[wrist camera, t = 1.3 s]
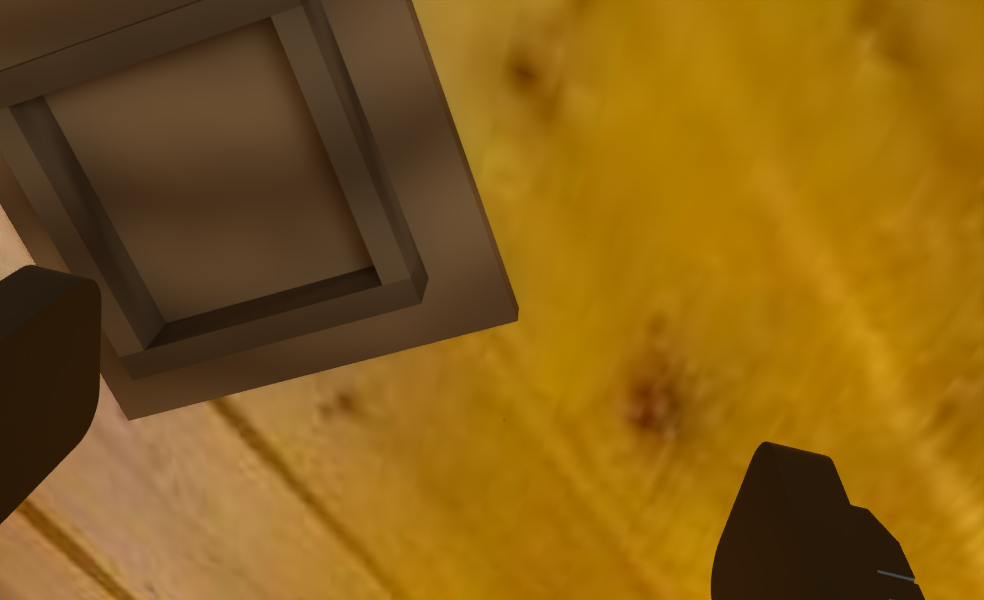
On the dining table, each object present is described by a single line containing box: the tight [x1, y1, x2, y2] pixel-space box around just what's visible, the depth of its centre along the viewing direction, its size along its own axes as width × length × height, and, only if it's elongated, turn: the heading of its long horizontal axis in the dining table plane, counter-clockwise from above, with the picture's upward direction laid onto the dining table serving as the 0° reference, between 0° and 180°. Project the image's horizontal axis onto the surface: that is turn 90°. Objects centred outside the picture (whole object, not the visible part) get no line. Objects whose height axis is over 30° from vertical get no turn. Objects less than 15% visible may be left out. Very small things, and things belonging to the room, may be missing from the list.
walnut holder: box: [0, 0, 519, 420], centre depth 30 cm, size 16×16×3 cm
